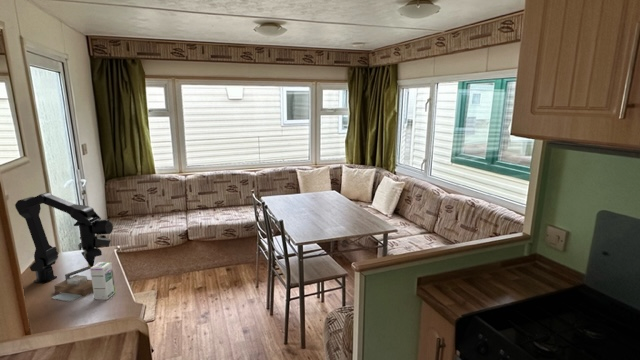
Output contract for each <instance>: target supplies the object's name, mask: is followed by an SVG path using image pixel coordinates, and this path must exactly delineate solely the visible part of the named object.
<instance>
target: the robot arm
mask: <svg viewBox="0 0 640 360" xmlns="http://www.w3.org/2000/svg"><path fill="white" fill-rule="evenodd" d="M41 204H44V205H46V206H48V207H51V208H52V209H53V208H54V209H55V210H58V211H61V212H64V213H66V214H68V215H69V216H70V218H72V219H73V220H75V221H76V222H75V223H74V224H73V226H74V227H78V228H79V229H78V230H79V235H80V236H79V240H80V242H79V244H78V250H79V251H81V250H82V252H81V254H82V256H83V258H84V260H85V261H86V262H87V265H88V264H89V265H90V267H93V266H94V265H95V259H96V257H101V256H103V254H102V250H101V249H100V248H99V246H100V247H106V248H109V247H110V244H111V242H112V240H111V239H110V238H109V237H106V235H110V234H112V232H113V231H114V226H113V225H114V224H113V223H112V222H111V221H110V219H109V218H105V219H102V217H101V216H100V215H99V214H98V213H96V211H95V210H94V208H93V207H92V206H89V205H84V204H75V203H73V202H70V201H68V200H65V199H63V198H61V197H59V196H56V195H54V194H52V193H51V192H45V193H40V194H38V195H36V196H29V197H26V198H21V199H19V200H17V201H16V203H15V204H14V206H15V207H14V208H15V209H16V211H17V213H18V215H19V216H21V217H22V218H23V219H24V220H25V221H26V224H27V228H28V230H29V233H30V236H31V238H32V242H33V244H34V247H35V251H34V254H33V258H34V262H33V263H32V264H31V265H30V266H29V270H30V271H31V272H35V277H36V279H34V280H33V283H38V284H39V283H40V284H45V283H48V282H50V281H52V280H54V279H57V278H58V275H57V276H56V275H54V274H55V272H54V270H53V268H54V267H53V265H55V264H56V263H57V262H56V261H57V260H58V258H59V254H60V253H59V252H58V250H57V246H52V245H51V244H50V243H49V241H48V238H47V234H46V232H45V228H44V225H43V223H42V220H41V217H40V212H41ZM97 235H100V236H97Z"/></svg>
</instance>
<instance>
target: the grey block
mask: <svg viewBox="0 0 640 360" xmlns="http://www.w3.org/2000/svg"><path fill="white" fill-rule="evenodd" d="M87 280H88V276H86V275H78V274H74V275H72V276H70V278H69V279H67V285H71V286H78V287H79V286H81V285H82V284H84V283H86V282H87Z"/></svg>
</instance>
